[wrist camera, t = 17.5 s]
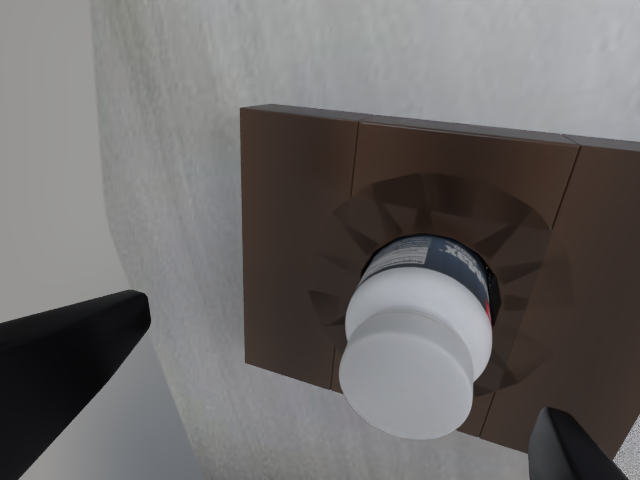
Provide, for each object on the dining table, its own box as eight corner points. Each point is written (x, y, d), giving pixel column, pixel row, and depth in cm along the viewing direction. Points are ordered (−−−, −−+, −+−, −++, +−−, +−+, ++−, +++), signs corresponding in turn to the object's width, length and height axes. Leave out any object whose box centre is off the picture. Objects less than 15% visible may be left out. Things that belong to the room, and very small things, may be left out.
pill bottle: (502, 296, 18) (528, 453, 10) (403, 321, 21) (364, 464, 13) (459, 199, 17) (453, 294, 9) (360, 238, 20) (291, 338, 12)
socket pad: (268, 332, 24) (244, 363, 22) (270, 103, 18) (239, 107, 16) (583, 424, 19) (603, 478, 17) (722, 150, 14) (784, 167, 11)
